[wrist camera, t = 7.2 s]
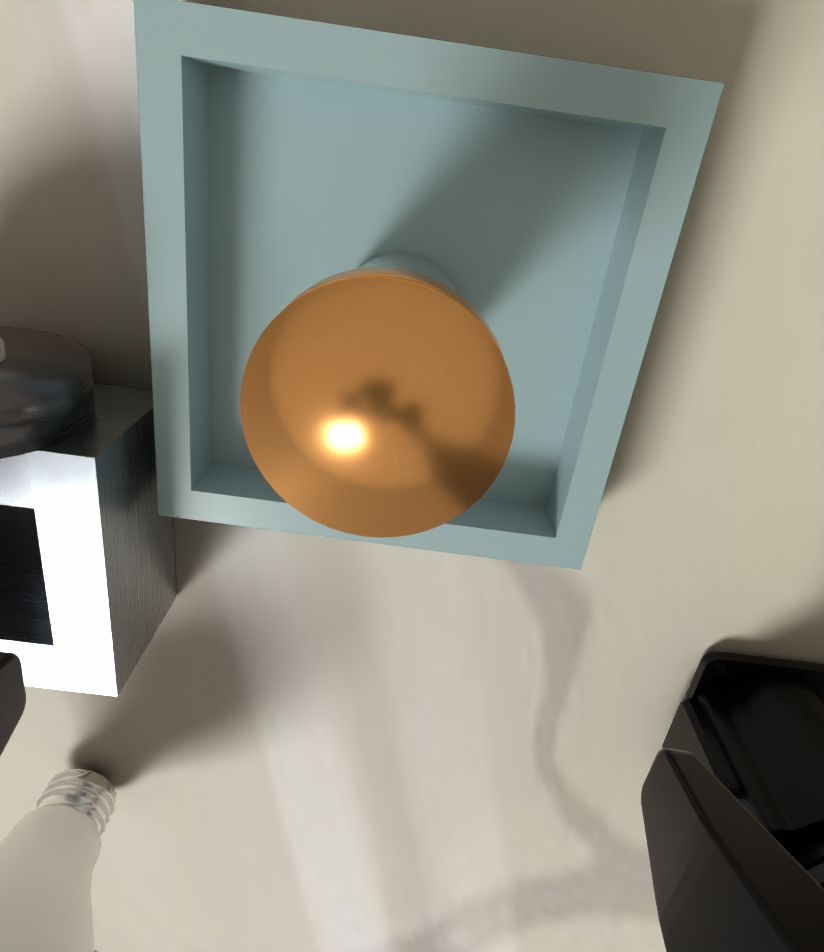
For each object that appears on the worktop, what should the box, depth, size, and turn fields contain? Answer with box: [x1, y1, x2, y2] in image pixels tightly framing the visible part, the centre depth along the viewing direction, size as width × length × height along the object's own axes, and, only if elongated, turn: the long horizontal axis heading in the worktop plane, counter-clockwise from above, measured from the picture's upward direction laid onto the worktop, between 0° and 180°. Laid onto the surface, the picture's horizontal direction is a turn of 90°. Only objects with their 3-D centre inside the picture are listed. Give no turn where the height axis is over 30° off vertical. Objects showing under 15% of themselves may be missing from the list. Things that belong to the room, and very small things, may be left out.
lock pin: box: [240, 251, 515, 538], centre depth 15 cm, size 5×5×8 cm
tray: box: [134, 0, 724, 570], centre depth 18 cm, size 13×13×2 cm
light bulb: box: [0, 769, 117, 952], centre depth 24 cm, size 7×7×11 cm
